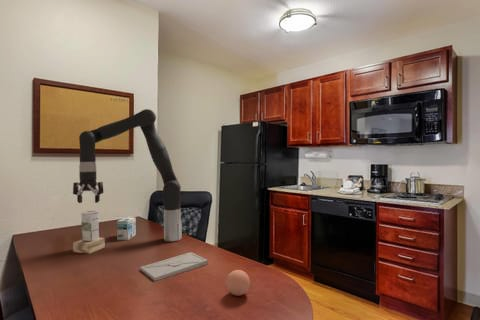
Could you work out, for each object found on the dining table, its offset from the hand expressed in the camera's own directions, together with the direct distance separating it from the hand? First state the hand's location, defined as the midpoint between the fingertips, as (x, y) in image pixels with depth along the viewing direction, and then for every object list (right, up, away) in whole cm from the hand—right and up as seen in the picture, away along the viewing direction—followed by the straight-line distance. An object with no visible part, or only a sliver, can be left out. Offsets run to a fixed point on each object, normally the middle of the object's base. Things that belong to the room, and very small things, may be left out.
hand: (88, 202), depth 137 cm
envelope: (+49, -24, -23) cm, 60 cm away
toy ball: (+76, -24, -46) cm, 92 cm away
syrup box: (+1, -19, +1) cm, 19 cm away
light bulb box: (+11, -24, +21) cm, 34 cm away
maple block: (0, -24, 0) cm, 24 cm away
